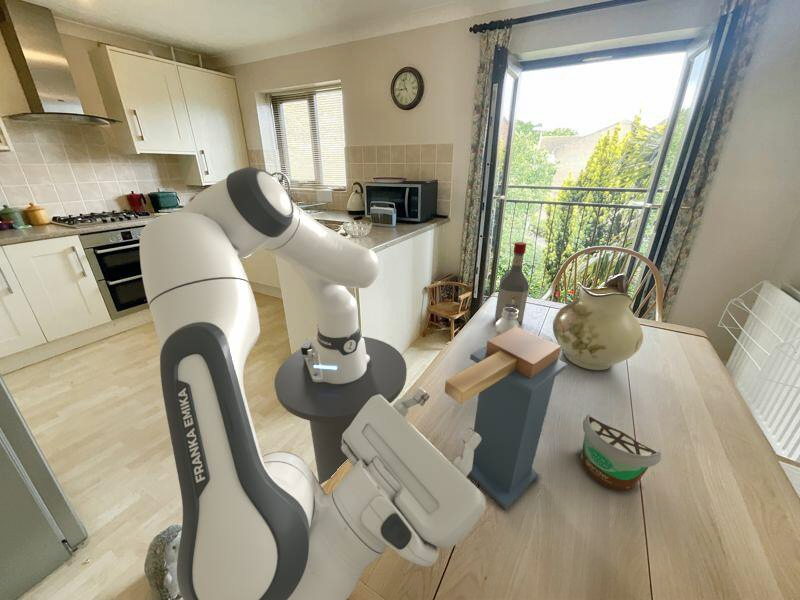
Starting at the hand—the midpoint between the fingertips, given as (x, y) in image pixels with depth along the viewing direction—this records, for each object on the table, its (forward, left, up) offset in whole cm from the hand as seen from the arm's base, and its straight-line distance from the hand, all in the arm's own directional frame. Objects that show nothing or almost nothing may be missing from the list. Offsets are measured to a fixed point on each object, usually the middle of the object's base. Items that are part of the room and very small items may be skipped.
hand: (448, 410), depth 41 cm
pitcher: (-7, +70, -24) cm, 74 cm away
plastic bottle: (-18, +42, -24) cm, 51 cm away
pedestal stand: (0, +16, -24) cm, 29 cm away
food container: (+13, +31, -24) cm, 41 cm away
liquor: (-35, +70, -24) cm, 82 cm away
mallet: (0, +11, +2) cm, 11 cm away
